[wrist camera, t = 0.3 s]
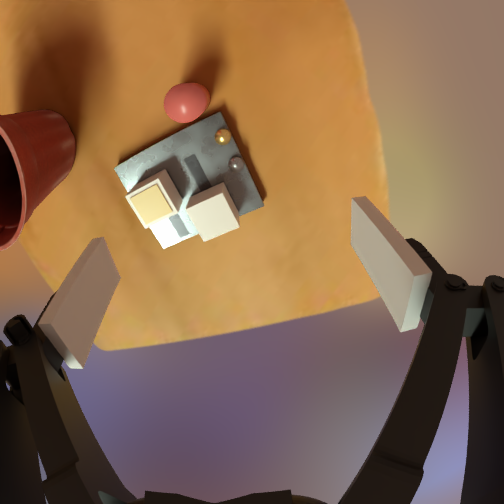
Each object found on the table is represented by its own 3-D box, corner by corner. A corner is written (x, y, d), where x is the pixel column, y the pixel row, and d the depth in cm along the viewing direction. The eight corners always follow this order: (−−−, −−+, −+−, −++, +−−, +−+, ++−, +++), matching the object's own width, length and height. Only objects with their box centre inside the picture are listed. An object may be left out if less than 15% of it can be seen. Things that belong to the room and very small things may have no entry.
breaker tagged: (134, 185, 38) (124, 197, 35) (165, 168, 37) (157, 178, 34) (152, 215, 41) (144, 229, 37) (183, 200, 40) (177, 213, 36)
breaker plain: (189, 197, 40) (185, 209, 36) (223, 182, 39) (222, 192, 35) (206, 227, 42) (204, 241, 39) (239, 213, 41) (239, 227, 38)
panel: (117, 165, 38) (111, 170, 36) (220, 110, 35) (219, 112, 34) (165, 243, 45) (162, 251, 43) (263, 201, 42) (264, 208, 41)
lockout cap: (170, 92, 34) (157, 95, 28) (201, 77, 33) (194, 76, 27) (185, 121, 36) (174, 129, 30) (216, 106, 35) (212, 111, 29)
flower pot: (-5, 130, 32) (-73, 163, 18) (63, 73, 30) (-12, 82, 16) (35, 212, 41) (-20, 267, 27) (107, 170, 38) (51, 221, 25)
